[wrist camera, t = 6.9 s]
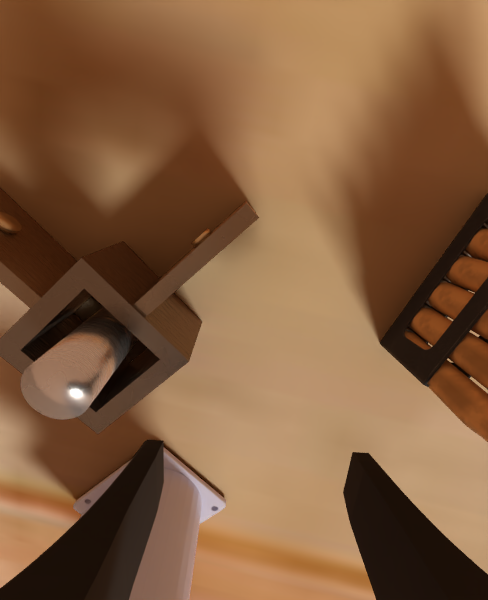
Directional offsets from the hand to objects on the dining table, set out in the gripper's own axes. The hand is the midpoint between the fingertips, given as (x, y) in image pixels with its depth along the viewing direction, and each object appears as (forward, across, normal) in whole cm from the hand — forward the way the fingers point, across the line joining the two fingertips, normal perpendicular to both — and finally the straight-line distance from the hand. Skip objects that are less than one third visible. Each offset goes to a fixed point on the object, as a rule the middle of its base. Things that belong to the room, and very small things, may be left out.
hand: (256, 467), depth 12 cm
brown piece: (+9, +8, -7) cm, 14 cm away
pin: (+9, +8, -2) cm, 13 cm away
